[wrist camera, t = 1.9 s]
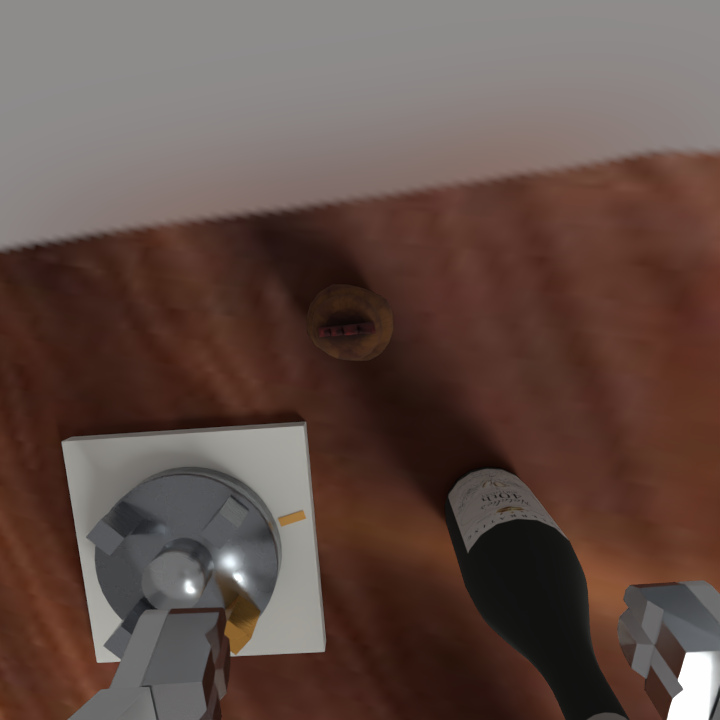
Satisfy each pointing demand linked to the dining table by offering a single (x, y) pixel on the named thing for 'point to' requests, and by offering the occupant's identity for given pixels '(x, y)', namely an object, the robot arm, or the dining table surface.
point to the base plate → (235, 458)
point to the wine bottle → (529, 586)
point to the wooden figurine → (350, 322)
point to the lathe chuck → (188, 551)
